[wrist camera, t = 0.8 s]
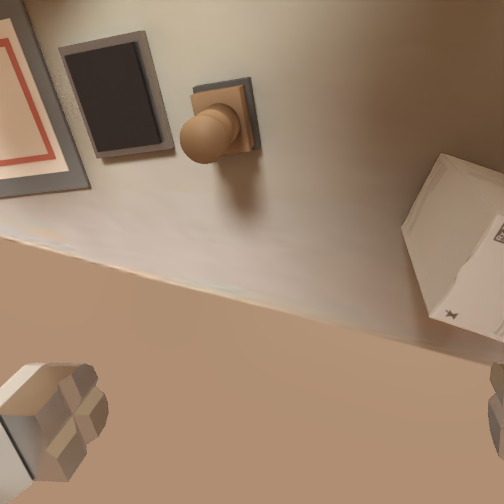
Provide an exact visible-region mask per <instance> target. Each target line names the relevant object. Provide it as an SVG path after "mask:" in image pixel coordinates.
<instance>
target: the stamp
mask: <svg viewBox="0 0 504 504" xmlns="http://www.w3.org/2000/svg"><path fill="white" fill-rule="evenodd" d="M193 92H194V94H193V95H191V96H190V97H191V101H192V106H193V110H194V115H195V116H194V117H193V118H191V119H190V120H188V121H187V122H186V123H185V124H184V125H183V127H182V129H181V132H180V144H181V147H182V149H183V151H184V153H185V154H186V155H187V156H188V157H189V158H190V159H191V160H193V161H195V162H197V163H201V164H208V163H212V162H214V161H216V160H217V159H218V158H219V157H220V156H221V155H226V154H234V153H242V152H250V151H251V150H253V149H259V148H260V147H261V141H260V135H259V128H258V122H257V115H256V109H255V103H254V96H253V90H252V84H251V77H246V78H240V79H235V80H229V81H223V82H217V83H211V84H205V85H199V86H195V87H193Z"/></svg>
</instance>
